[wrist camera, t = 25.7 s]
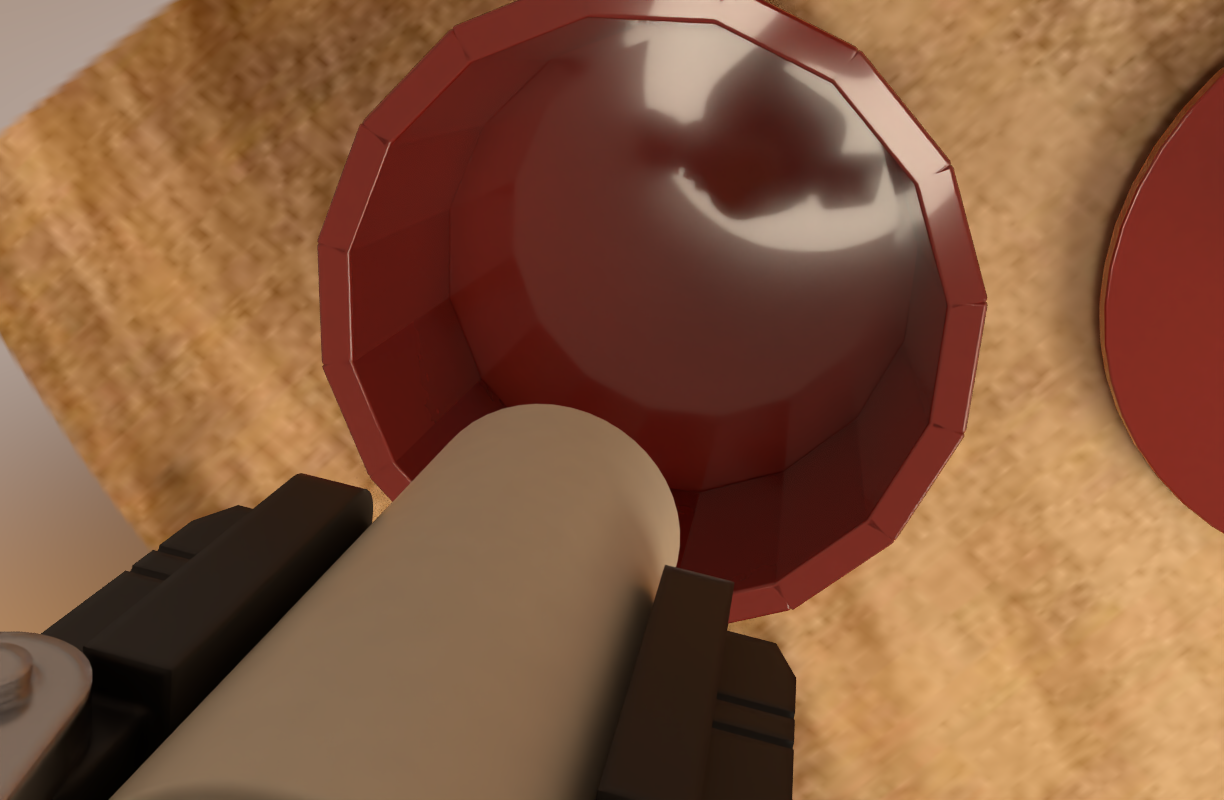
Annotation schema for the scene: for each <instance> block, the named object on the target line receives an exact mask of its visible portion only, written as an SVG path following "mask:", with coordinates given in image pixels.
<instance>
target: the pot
mask: <svg viewBox="0 0 1224 800" xmlns="http://www.w3.org/2000/svg"><path fill="white" fill-rule="evenodd" d="M318 272H319V297H320V323H321V349H322V363H323V364H324V365H323V370H324V372H325V374H326V377H327V379H328V381H329V384H330V386H331V388H332V391H333V393H334V395H335V398H336V400H337V402H338V405H339V407H340V409H341V412H342V414H343V416H344V419H345V421H346V423H347V426H348V428H349V430H350V433H351V435H352V437H353V440H354V442H355V444H356V447H357V449H358V451H359V454H360V456H361V459H362V461H363V463H364V466H365V468H366V470H367V473H368V475H370V478H371V479H372V480H373V481H374V482H375V484H376V485H377V486H378V487H379V488H380V489H381V490H382V491H383V492H384V493H385V494H386V495H387V496H388V497H389V499H390V500H391V501H392V502H393V501H394V500H395V499H396V498H397V497H398V496H399V495H400V494H401V493H402V491H403V490H404V489H405V488H406V487H407V486H408V485H409V484H410V483H411V482H412V481H413V480H414V479H415V478H416V477H417V476H418V475H419V474H420V473H421V472H422V471H423V469H424V468H425V467H426V466H427V465H428V464H429V463H430V462H431V461H432V460H433V459H434V458H435V457H436V456H437V455H438V454H439V453H440V452H441V451H442V450H443V448H444V447H445V446H446V445H447V444H448V443H449V442H450V441H451V440H452V439H453V438H454V437H455V436H456V435H457V434H458V433H459V432H460V431H462V430H463V429H464V428H466V427H467V426H468V425H470V424H471V423H472V422H474V421H476V420H478V419H480V418H482V417H483V416H485V415H487V414H490V413H493V412H495V411H498V410H501V409H504V408H509V407H513V406H518V405H528V404H552V405H559V406H565V407H571V408H574V409H577V410H581V411H584V412H587V413H590V414H592V415H594V416H596V417H599V418H601V419H603V420H605V421H607V422H608V423H610V424H612V425H614V426H615V427H617V428H619V429H620V430H621V431H623V432H624V433H625V434H627V435H628V436H629V437H630V438H632V439H633V440H634V441H635V442H636V443H637V444H638V445H639V446H640V447H641V448H642V449H643V450H644V451H645V452H646V453H647V454H648V455H649V456H650V458H651V459H652V460H653V462H654V463H655V464H656V465H657V467H658V468H659V470H660V472H661V473H662V475H663V477H664V478H665V480H666V482H667V484H668V487H669V489H670V491H671V493H672V496H673V499H674V502H675V506H676V509H677V513H678V520H679V527H680V548H679V554H678V561H677V565H676V568H680V569H684V570H688V571H692V572H696V573H700V574H704V575H708V576H712V577H716V578H720V579H724V580H728V581H732V582H734V589H733V596H732V602H731V608H730V615H729V621H728V623H733V622H737V621H742V620H746V619H751V618H756V617H760V616H765V615H770V614H774V613H779V612H783V611H788V610H790V609H792V610H793V609H795V608H796V607H798V606H799V605H801V604H802V603H804V602H805V601H807V600H808V599H810V598H811V597H813V596H814V595H816V594H817V593H819V592H820V591H822V590H823V589H825V588H826V587H828V586H829V585H831V584H832V583H834V582H835V581H837V580H838V579H840V578H841V577H843V576H844V575H846V574H847V573H849V572H850V571H852V570H853V569H855V568H856V567H858V566H859V565H861V564H862V563H864V562H865V561H867V560H868V559H870V558H871V557H873V556H874V555H876V554H877V553H879V552H880V551H882V550H883V549H885V548H886V547H888V546H889V545H891V544H892V543H893V542H894V540H896V539H897V537H898V536H899V534H900V533H901V531H902V530H903V528H904V527H905V525H906V524H907V522H908V521H909V519H910V518H911V516H912V515H913V513H914V512H915V510H916V509H917V507H918V506H919V504H920V503H921V501H922V500H923V498H924V497H925V495H926V494H927V492H928V491H929V489H930V488H931V486H932V485H933V483H934V482H935V480H936V478H937V477H938V475H939V474H940V472H941V471H942V469H943V468H944V466H945V465H946V463H947V462H948V460H949V459H950V457H951V456H952V454H953V453H954V451H955V450H956V448H957V447H958V445H959V444H960V442H961V441H962V439H963V438H964V432H965V431H966V429H967V423H968V417H969V411H970V405H971V399H972V394H973V388H974V382H975V376H976V370H977V364H978V358H979V352H980V347H981V341H982V335H983V329H984V323H985V317H986V311H987V302H986V300H987V294H986V290H985V287H984V283H983V279H982V275H981V271H980V267H979V264H978V260H977V256H976V252H975V248H974V244H973V240H972V237H971V233H970V229H969V225H968V221H967V217H966V214H965V210H964V206H963V202H962V198H961V194H960V191H959V187H958V183H957V179H956V175H955V171H954V168H953V167H952V165H951V162H950V160H949V159H948V157H947V156H946V155H945V154H944V152H943V151H942V150H941V149H940V147H939V146H938V145H937V144H936V142H935V141H934V140H933V139H932V138H931V136H930V135H929V134H928V133H927V131H926V130H925V129H924V128H923V126H922V125H921V124H920V123H919V121H918V120H917V119H916V118H915V116H914V115H913V114H912V113H911V111H910V110H909V109H908V108H907V106H906V105H905V104H904V103H903V102H902V100H901V99H900V98H899V97H898V95H897V94H896V93H895V92H894V90H893V89H892V88H891V87H890V85H889V84H888V83H887V82H886V80H885V79H884V78H883V77H882V75H881V74H880V73H879V72H878V70H877V69H876V68H875V67H874V66H873V64H872V63H871V62H870V61H869V59H868V58H867V57H866V56H865V54H864V53H863V52H862V51H860V50H858V49H857V47H856V46H854V45H852V44H850V43H848V42H846V41H844V40H842V39H840V38H838V37H836V36H834V35H832V34H830V33H828V32H826V31H824V30H822V29H820V28H818V27H816V26H814V25H812V24H810V23H808V22H806V21H804V20H802V19H800V18H798V17H796V16H794V15H793V14H791V13H789V12H787V11H785V10H783V9H781V8H779V7H777V6H775V5H773V4H771V3H769V2H767V1H765V0H517V1H514V2H512V3H510V4H507V5H505V6H502V7H500V8H497V9H495V10H492V11H490V12H487V13H485V14H482V15H480V16H477V17H475V18H472V19H470V20H467V21H465V22H462V23H460V24H457V25H455V26H454V27H453V29H451V30H449V31H448V32H447V33H446V34H445V35H444V36H443V37H442V38H441V39H440V40H439V41H438V42H437V43H436V45H435V46H434V47H433V48H432V49H431V50H430V51H429V52H428V53H427V54H426V55H425V56H424V57H423V58H422V59H421V60H420V61H419V62H418V63H417V64H416V65H415V67H414V68H413V69H412V70H411V71H410V72H409V73H408V74H407V75H406V76H405V77H404V78H403V79H402V80H401V81H400V82H399V83H398V84H397V85H396V86H395V88H394V89H393V90H392V91H391V92H390V93H389V94H388V95H387V96H386V97H385V98H384V99H383V100H382V101H381V102H380V103H379V104H378V105H377V106H376V107H375V108H374V110H373V111H372V112H371V113H370V114H369V115H368V116H367V117H366V118H365V119H364V121H363V124H360V125H359V128H358V131H357V133H356V136H355V139H354V142H353V144H352V147H351V150H350V153H349V155H348V158H347V161H346V164H345V166H344V169H343V172H342V175H341V177H340V180H339V183H338V186H337V188H336V191H335V194H334V196H333V199H332V202H331V205H330V207H329V210H328V213H327V216H326V218H325V221H324V224H323V227H322V229H321V232H320V235H319V238H318Z"/></svg>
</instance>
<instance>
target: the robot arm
mask: <svg viewBox="0 0 1224 800" xmlns="http://www.w3.org/2000/svg"><path fill="white" fill-rule="evenodd" d="M372 517H373V500H372V496H371V493H370V492H369V491H368V490H367V489H363V488H359V487H355V486H351V485H347V484H343V483H339V482H335V481H331V480H327V479H323V478H319V477H315V476H311V475H307V474H302V473H300V474H297V475H295V476H293V477H292V478H291V479H290V480H288V481H287V482H286V483H285V484H283V485H282V486H281V487H280V488H278V489H277V490H276V491H275V492H273V493H272V494H271V495H270V496H269V497H267V498H266V499H265V500H264V501H262V502H261V503H260V504H259V505H257V506H256V507H255V508H254V509H251V508H247V507H243V506H240V505H237V506H234V507H231V508H228V509H226V510H223V511H220V512H217V513H214V514H211V515H208V516H205V517H202V518H199V519H196V520H193V521H191V522H190V523H189V524H187V525H186V526H185V527H183V528H182V529H181V530H179V531H178V532H177V533H175V534H174V535H173V536H171V537H170V538H169V539H167V540H166V541H165V542H163V543H162V544H160V546H159V549H158V551H155V550H152V551H151V552H150V553H148V554H147V555H146V556H144V557H143V558H142V559H141V560H139V561H138V562H136V563H135V564H134V565H133V566H132V569H131V571H130V572H129V571H124V572H123V573H122V574H120V575H119V576H118V577H116V578H115V579H114V580H112V581H111V582H110V583H108V584H107V585H106V586H104V587H103V588H102V589H100V590H99V591H98V592H96V593H95V594H94V595H92V596H91V597H89V598H88V599H87V600H85V601H84V602H83V603H81V604H80V605H79V606H77V607H76V608H75V609H73V610H72V611H71V612H70V613H68V614H67V615H65V616H64V617H63V618H61V619H60V620H59V621H57V622H56V623H55V624H53V625H52V626H51V627H49V628H48V629H47V630H45V631H44V632H43V633H41V634H36V633H28V632H0V800H109V799H110V798H111V797H112V796H113V795H114V794H115V792H116V791H117V790H118V789H119V788H120V787H121V786H122V785H123V784H124V783H125V782H126V781H127V780H128V779H129V778H130V777H131V776H132V775H133V774H134V773H135V771H136V770H137V769H138V768H139V767H140V766H141V765H142V764H143V763H144V762H145V761H146V760H147V759H148V758H149V757H150V756H151V755H152V754H153V753H154V752H155V751H156V749H157V748H158V747H159V746H160V745H161V744H162V743H163V742H164V741H165V740H166V739H167V738H168V737H169V736H170V735H171V734H172V733H173V732H174V731H175V730H176V728H177V727H178V726H179V725H180V724H181V723H182V722H183V721H184V720H185V719H186V718H187V717H188V716H189V715H190V714H191V713H192V712H193V711H194V710H195V709H196V708H197V706H198V705H199V704H200V703H201V702H202V701H203V700H204V699H205V698H206V697H207V696H208V695H209V694H210V693H211V692H212V691H213V690H214V689H215V688H216V687H217V686H218V684H219V683H220V682H221V681H222V680H223V679H224V678H225V677H226V676H227V675H228V674H229V673H230V672H231V671H232V670H233V669H234V668H235V667H236V666H237V665H238V663H239V662H240V661H241V660H242V659H243V658H244V657H245V656H246V655H247V654H248V653H249V652H250V651H251V650H252V649H253V648H254V647H255V646H256V645H257V644H258V643H259V641H260V640H261V639H262V638H263V637H264V636H265V635H266V634H267V633H268V632H269V631H270V630H271V629H272V628H273V627H274V626H275V625H276V624H277V623H278V622H279V620H280V619H281V618H282V617H283V616H284V615H285V614H286V613H287V612H288V611H289V610H290V609H291V608H292V607H293V606H294V605H295V604H296V603H297V602H298V601H299V600H300V598H301V597H302V596H303V595H304V594H305V593H306V592H307V591H308V590H309V589H310V588H311V587H312V586H313V585H314V584H315V583H316V582H317V581H318V580H319V579H320V577H321V576H322V575H323V574H324V573H325V572H326V571H327V570H328V569H329V568H330V567H331V566H332V565H333V564H334V563H335V562H336V561H337V560H338V559H339V558H340V557H341V555H342V554H343V553H344V552H345V551H346V550H347V549H348V548H349V547H350V546H351V545H352V544H353V543H354V542H355V541H356V540H357V539H358V538H359V537H360V536H361V534H362V533H363V532H364V531H365V530H366V529H367V528H368V527H369V526H370V525H371V524H372ZM733 589H734V582H732V581H728V580H724V579H720V578H716V577H712V576H708V575H704V574H700V573H696V572H692V571H688V570H684V569H680V568H676V567H673V566H669V565H665V566H664V569H663V573H662V576H661V579H660V583H659V586H658V589H657V593H656V596H655V599H654V603H653V606H652V609H651V613H650V616H649V619H648V623H647V626H646V629H645V633H644V636H643V639H642V643H641V646H640V649H639V653H638V656H637V659H636V663H635V666H634V669H633V673H632V676H631V679H630V683H629V686H628V689H627V693H626V696H625V699H624V703H623V706H622V709H621V713H620V716H619V719H618V723H617V726H616V729H615V733H614V736H613V739H612V743H611V746H610V750H609V753H608V756H607V760H606V763H605V766H604V770H603V773H602V776H601V780H600V783H599V786H598V790H597V794H596V799H595V800H792V786H793V756H794V750H793V744H794V727H795V720H794V715H795V697H796V677H795V675H794V674H793V672H792V670H791V668H790V667H789V665H788V663H787V661H786V660H785V658H784V656H783V654H782V653H781V651H780V649H779V648H778V646H777V644H776V643H773V642H769V641H765V640H761V639H757V638H753V637H750V636H746V635H742V634H738V633H734V632H730V631H727V627H728V621H729V615H730V608H731V602H732V596H733Z"/></svg>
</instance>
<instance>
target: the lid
mask: <svg viewBox="0 0 1224 800" xmlns="http://www.w3.org/2000/svg"><path fill="white" fill-rule="evenodd" d="M1099 303H1100V343H1101V349H1102V356H1103V362H1104V368H1105V374H1106V378H1107V381H1108V384H1109V387H1110V391H1111V394H1112V397H1113V400H1114V403H1115V406H1116V409H1117V411H1118V413H1119V415H1120V418H1121V420H1122V422H1123V424H1124V426H1125V428H1126V430H1127V432H1128V434H1129V436H1130V438H1131V440H1132V442H1133V443H1134V444H1135V446H1136V447H1137V449H1138V450H1139V452H1140V453H1141V454H1142V456H1143V457H1144V459H1145V460H1146V462H1147V463H1148V465H1149V466H1150V467H1151V469H1152V470H1153V472H1154V473H1155V474H1156V475H1157V477H1158V478H1159V479H1160V480H1161V481H1162V482H1163V483H1164V484H1165V485H1166V486H1167V487H1168V488H1169V489H1170V490H1171V491H1172V492H1173V494H1174V495H1175V496H1176V497H1177V498H1178V499H1179V500H1180V501H1181V502H1182V503H1183V504H1184V505H1186V506H1187V507H1188V508H1189V509H1191V510H1192V511H1193V512H1194V513H1196V514H1197V515H1198V516H1199V517H1201V518H1202V519H1203V520H1204V521H1206V522H1207V523H1208V524H1209V525H1211V526H1212V527H1214V528H1215V529H1217V530H1219V531H1220V532H1222V533H1224V67H1223V68H1222V69H1221V70H1219V71H1218V72H1217V73H1216V74H1215V75H1214V76H1213V77H1212V78H1211V79H1210V80H1209V81H1208V82H1207V83H1206V84H1205V85H1204V86H1203V87H1202V88H1201V89H1200V90H1199V92H1198V93H1197V94H1196V95H1195V96H1194V97H1193V98H1192V99H1191V100H1190V101H1189V102H1188V103H1187V104H1186V105H1185V106H1184V107H1183V108H1182V110H1181V111H1180V112H1179V114H1178V115H1177V116H1176V118H1175V119H1174V120H1173V122H1172V123H1171V124H1170V126H1169V127H1168V128H1167V130H1166V131H1165V132H1164V134H1163V135H1162V136H1161V138H1160V139H1159V140H1158V142H1157V143H1156V144H1155V146H1154V147H1153V149H1152V151H1151V152H1150V154H1149V156H1148V158H1147V159H1146V161H1145V163H1144V164H1143V166H1142V168H1141V170H1140V171H1139V173H1138V175H1137V177H1136V178H1135V180H1134V182H1133V184H1132V185H1131V188H1130V190H1129V193H1128V195H1127V197H1126V200H1125V202H1124V204H1123V207H1122V209H1121V212H1120V214H1119V216H1118V219H1117V221H1116V224H1115V227H1114V231H1113V234H1112V238H1111V242H1110V245H1109V249H1108V252H1107V256H1106V260H1105V264H1104V271H1103V279H1102V286H1101V294H1100V302H1099Z"/></svg>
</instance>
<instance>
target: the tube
mask: <svg viewBox="0 0 1224 800" xmlns="http://www.w3.org/2000/svg"><path fill="white" fill-rule="evenodd" d="M679 548H680V527H679V520H678V513H677V509H676V506H675V502H674V499H673V496H672V493H671V491H670V489H669V487H668V484H667V482H666V480H665V478H664V477H663V475H662V473H661V472H660V470H659V468H658V467H657V465H656V464H655V463H654V462H653V460H652V459H651V458H650V456H649V455H648V454H647V453H646V452H645V451H644V450H643V449H642V448H641V447H640V446H639V445H638V444H637V443H636V442H635V441H634V440H633V439H632V438H630V437H629V436H628V435H627V434H625V433H624V432H623V431H621V430H620V429H619V428H617V427H615V426H614V425H612V424H610V423H608V422H607V421H605V420H603V419H601V418H599V417H596V416H594V415H592V414H590V413H587V412H584V411H581V410H577V409H574V408H571V407H565V406H559V405H552V404H528V405H518V406H513V407H509V408H504V409H501V410H498V411H495V412H493V413H490V414H487V415H485V416H483V417H482V418H480V419H478V420H476V421H474V422H472V423H471V424H470V425H468V426H467V427H466V428H464V429H463V430H462V431H460V432H459V433H458V434H457V435H456V436H455V437H454V438H453V439H452V440H451V441H450V442H449V443H448V444H447V445H446V446H445V447H444V448H443V450H442V451H441V452H440V453H439V454H438V455H437V456H436V457H435V458H434V459H433V460H432V461H431V462H430V463H429V464H428V465H427V466H426V467H425V468H424V469H423V471H422V472H421V473H420V474H419V475H418V476H417V477H416V478H415V479H414V480H413V481H412V482H411V483H410V484H409V485H408V486H407V487H406V488H405V489H404V490H403V491H402V493H401V494H400V495H399V496H398V497H397V498H396V499H395V500H394V501H393V502H392V503H391V504H390V505H389V506H388V507H387V508H386V509H385V510H384V511H383V512H382V514H381V515H380V516H379V517H378V518H377V519H376V520H375V521H374V522H373V523H372V524H371V525H370V526H369V527H368V528H367V529H366V530H365V531H364V532H363V533H362V534H361V536H360V537H359V538H358V539H357V540H356V541H355V542H354V543H353V544H352V545H351V546H350V547H349V548H348V549H347V550H346V551H345V552H344V553H343V554H342V555H341V557H340V558H339V559H338V560H337V561H336V562H335V563H334V564H333V565H332V566H331V567H330V568H329V569H328V570H327V571H326V572H325V573H324V574H323V575H322V576H321V577H320V579H319V580H318V581H317V582H316V583H315V584H314V585H313V586H312V587H311V588H310V589H309V590H308V591H307V592H306V593H305V594H304V595H303V596H302V597H301V598H300V600H299V601H298V602H297V603H296V604H295V605H294V606H293V607H292V608H291V609H290V610H289V611H288V612H287V613H286V614H285V615H284V616H283V617H282V618H281V619H280V620H279V622H278V623H277V624H276V625H275V626H274V627H273V628H272V629H271V630H270V631H269V632H268V633H267V634H266V635H265V636H264V637H263V638H262V639H261V640H260V641H259V643H258V644H257V645H256V646H255V647H254V648H253V649H252V650H251V651H250V652H249V653H248V654H247V655H246V656H245V657H244V658H243V659H242V660H241V661H240V662H239V663H238V665H237V666H236V667H235V668H234V669H233V670H232V671H231V672H230V673H229V674H228V675H227V676H226V677H225V678H224V679H223V680H222V681H221V682H220V683H219V684H218V686H217V687H216V688H215V689H214V690H213V691H212V692H211V693H210V694H209V695H208V696H207V697H206V698H205V699H204V700H203V701H202V702H201V703H200V704H199V705H198V706H197V708H196V709H195V710H194V711H193V712H192V713H191V714H190V715H189V716H188V717H187V718H186V719H185V720H184V721H183V722H182V723H181V724H180V725H179V726H178V727H177V728H176V730H175V731H174V732H173V733H172V734H171V735H170V736H169V737H168V738H167V739H166V740H165V741H164V742H163V743H162V744H161V745H160V746H159V747H158V748H157V749H156V751H155V752H154V753H153V754H152V755H151V756H150V757H149V758H148V759H147V760H146V761H145V762H144V763H143V764H142V765H141V766H140V767H139V768H138V769H137V770H136V771H135V773H134V774H133V775H132V776H131V777H130V778H129V779H128V780H127V781H126V782H125V783H124V784H123V785H122V786H121V787H120V788H119V789H118V790H117V791H116V792H115V794H114V795H113V796H112V797H111V798H110V799H109V800H595V799H596V794H597V790H598V786H599V783H600V780H601V776H602V773H603V770H604V766H605V763H606V760H607V756H608V753H609V750H610V746H611V743H612V739H613V736H614V733H615V729H616V726H617V723H618V719H619V716H620V713H621V709H622V706H623V703H624V699H625V696H626V693H627V689H628V686H629V683H630V679H631V676H632V673H633V669H634V666H635V663H636V659H637V656H638V653H639V649H640V646H641V643H642V639H643V636H644V633H645V629H646V626H647V623H648V619H649V616H650V613H651V609H652V606H653V603H654V599H655V596H656V593H657V589H658V586H659V583H660V579H661V576H662V573H663V569H664V566H665V565H669V566H673V567H676V565H677V561H678V554H679Z"/></svg>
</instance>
